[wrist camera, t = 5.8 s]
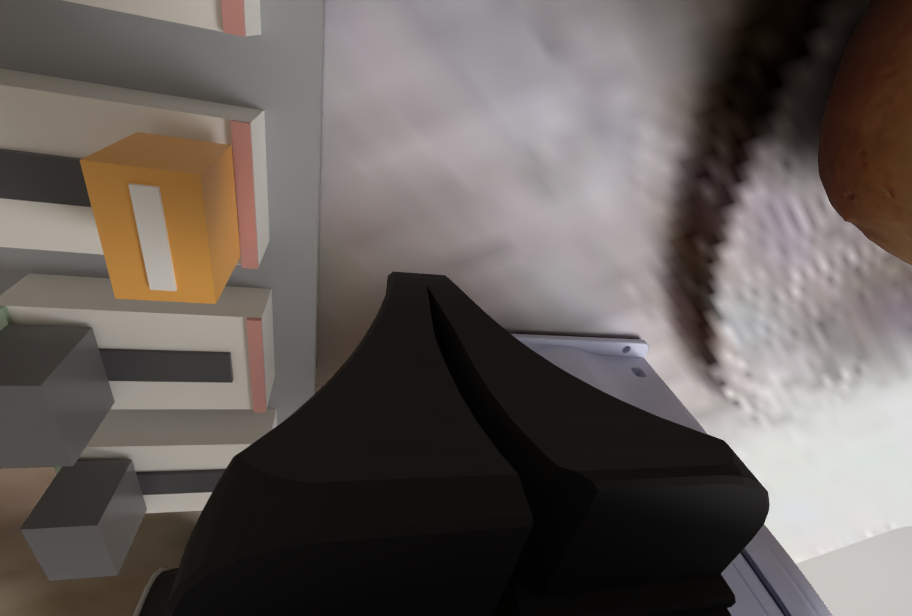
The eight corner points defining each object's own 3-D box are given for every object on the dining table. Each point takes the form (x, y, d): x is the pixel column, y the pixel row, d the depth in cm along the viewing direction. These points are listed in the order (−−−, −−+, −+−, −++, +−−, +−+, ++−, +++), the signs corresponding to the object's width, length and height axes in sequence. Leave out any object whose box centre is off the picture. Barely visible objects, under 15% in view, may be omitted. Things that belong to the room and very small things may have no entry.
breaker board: (328, -151, 12) (303, -285, 7) (314, 453, 26) (302, 568, 20) (-242, -328, 10) (-1044, -792, 4) (74, 459, 23) (-15, 596, 17)
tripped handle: (231, 145, 13) (198, 175, 10) (240, 256, 14) (215, 305, 12) (137, 132, 12) (76, 160, 10) (158, 249, 14) (113, 300, 11)
